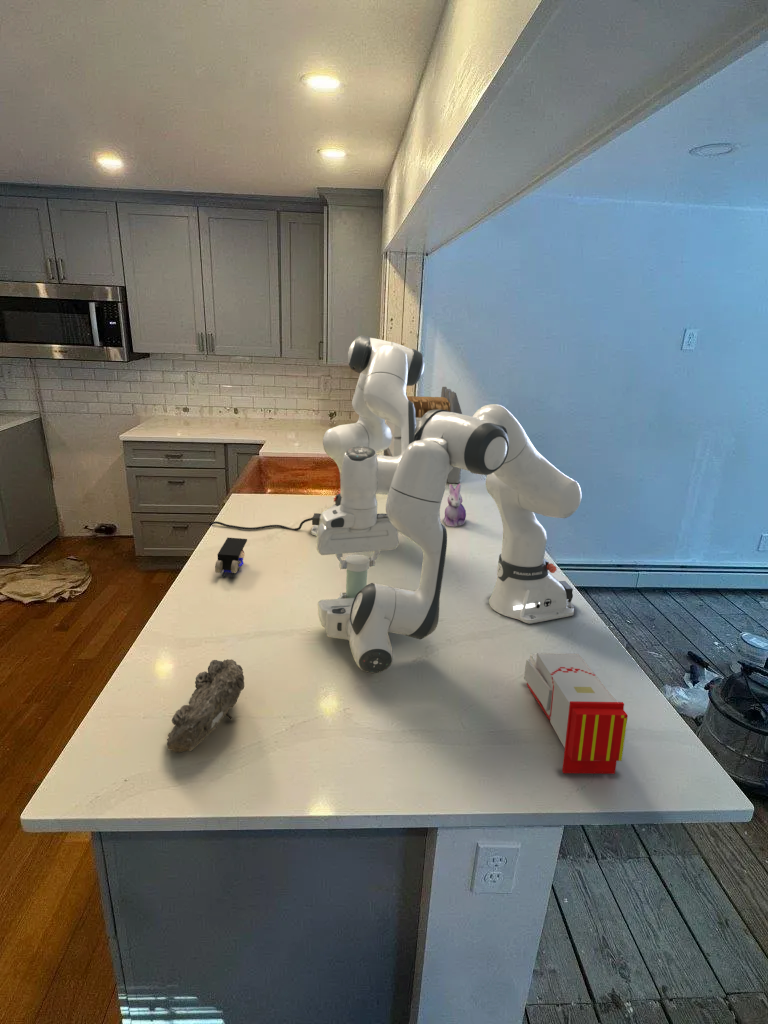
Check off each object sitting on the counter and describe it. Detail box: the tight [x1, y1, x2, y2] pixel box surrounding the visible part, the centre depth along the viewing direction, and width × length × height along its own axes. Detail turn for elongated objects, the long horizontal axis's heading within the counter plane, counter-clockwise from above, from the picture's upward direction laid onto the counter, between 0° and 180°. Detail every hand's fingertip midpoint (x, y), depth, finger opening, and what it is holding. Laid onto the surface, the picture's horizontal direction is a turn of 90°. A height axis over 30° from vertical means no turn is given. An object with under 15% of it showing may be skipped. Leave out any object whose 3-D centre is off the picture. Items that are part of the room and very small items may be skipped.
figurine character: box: [214, 537, 248, 578], centre depth 166 cm, size 7×8×15 cm
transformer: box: [383, 386, 463, 484], centre depth 268 cm, size 34×33×41 cm
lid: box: [344, 553, 370, 572], centre depth 141 cm, size 6×6×2 cm
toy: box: [523, 652, 628, 775], centre depth 110 cm, size 12×13×30 cm
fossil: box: [166, 658, 245, 754], centre depth 106 cm, size 22×10×15 cm
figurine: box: [443, 483, 467, 528], centre depth 210 cm, size 9×10×15 cm
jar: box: [345, 569, 368, 598], centre depth 143 cm, size 5×5×15 cm
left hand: (357, 567), depth 141 cm, fingers closed on lid, 6 cm apart
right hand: (355, 594), depth 145 cm, fingers closed on jar, 5 cm apart
